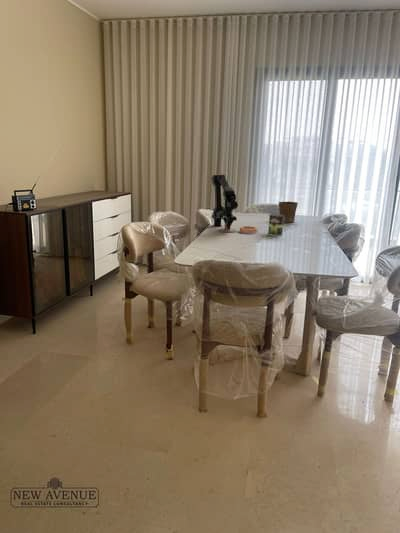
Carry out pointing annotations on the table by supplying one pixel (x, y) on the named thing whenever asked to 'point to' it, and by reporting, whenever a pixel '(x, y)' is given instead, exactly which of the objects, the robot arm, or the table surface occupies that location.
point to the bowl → (248, 229)
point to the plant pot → (288, 211)
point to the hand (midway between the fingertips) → (227, 228)
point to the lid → (227, 229)
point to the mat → (224, 232)
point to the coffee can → (276, 224)
